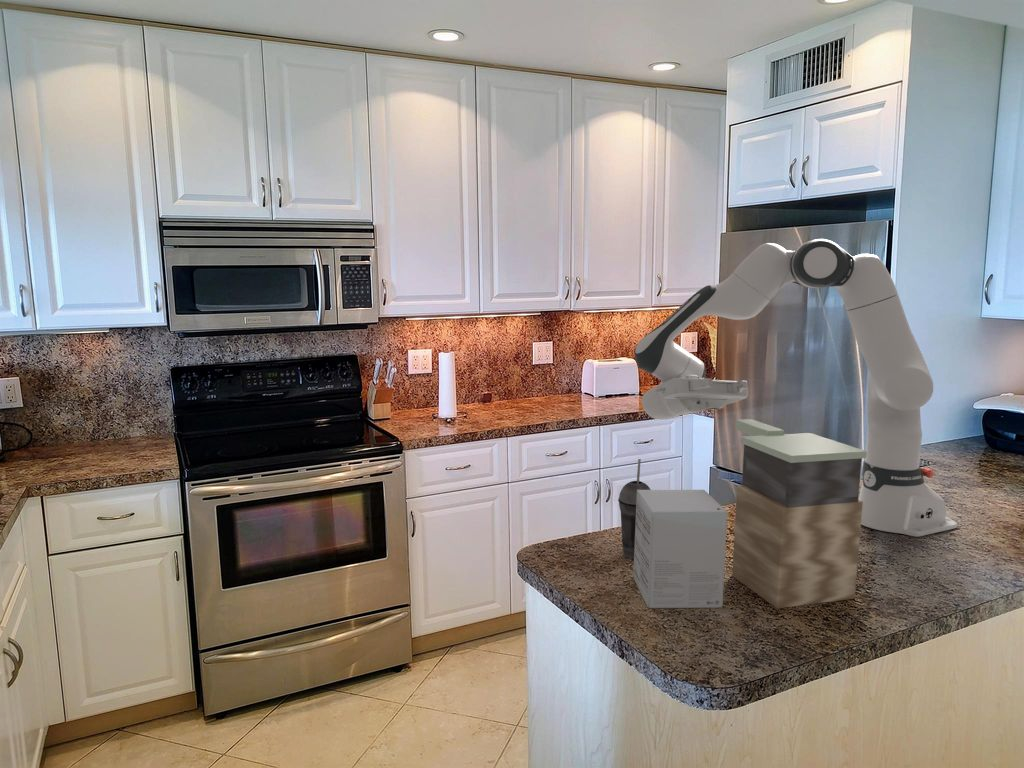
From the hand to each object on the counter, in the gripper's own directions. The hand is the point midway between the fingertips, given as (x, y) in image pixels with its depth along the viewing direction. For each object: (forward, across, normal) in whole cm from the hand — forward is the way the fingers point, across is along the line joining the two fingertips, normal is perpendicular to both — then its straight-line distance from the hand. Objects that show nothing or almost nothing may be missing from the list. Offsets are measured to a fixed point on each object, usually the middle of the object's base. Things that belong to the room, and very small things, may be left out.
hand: (727, 383), depth 153 cm
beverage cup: (-8, -21, +36) cm, 42 cm away
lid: (+18, -4, +15) cm, 24 cm away
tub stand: (+15, -2, +42) cm, 44 cm away
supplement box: (+9, -23, +42) cm, 49 cm away
